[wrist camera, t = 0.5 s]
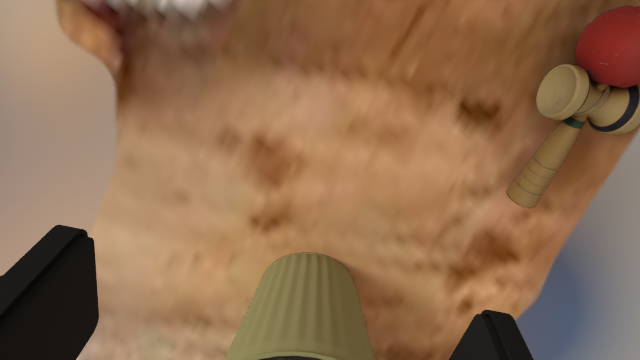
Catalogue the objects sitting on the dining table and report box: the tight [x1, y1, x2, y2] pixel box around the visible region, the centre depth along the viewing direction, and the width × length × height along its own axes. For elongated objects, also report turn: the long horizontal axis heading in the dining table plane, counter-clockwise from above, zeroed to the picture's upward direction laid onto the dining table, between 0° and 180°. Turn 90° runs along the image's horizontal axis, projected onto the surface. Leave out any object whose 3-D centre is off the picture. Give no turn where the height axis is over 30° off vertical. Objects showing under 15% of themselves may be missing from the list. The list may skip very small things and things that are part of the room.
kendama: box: [506, 6, 640, 208], centre depth 34 cm, size 8×6×18 cm
